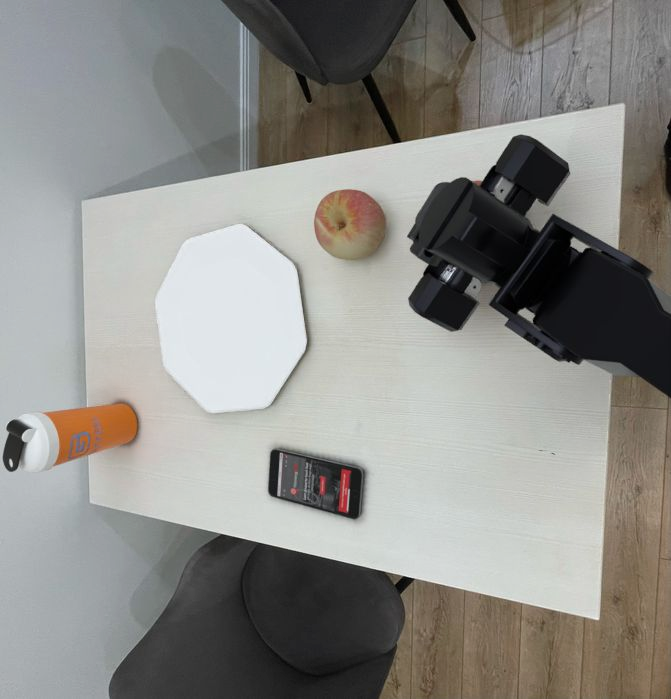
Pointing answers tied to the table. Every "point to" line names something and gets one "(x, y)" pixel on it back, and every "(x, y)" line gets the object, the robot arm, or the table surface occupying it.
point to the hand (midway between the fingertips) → (452, 218)
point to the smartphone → (316, 483)
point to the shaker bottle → (66, 435)
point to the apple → (349, 224)
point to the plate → (231, 320)
